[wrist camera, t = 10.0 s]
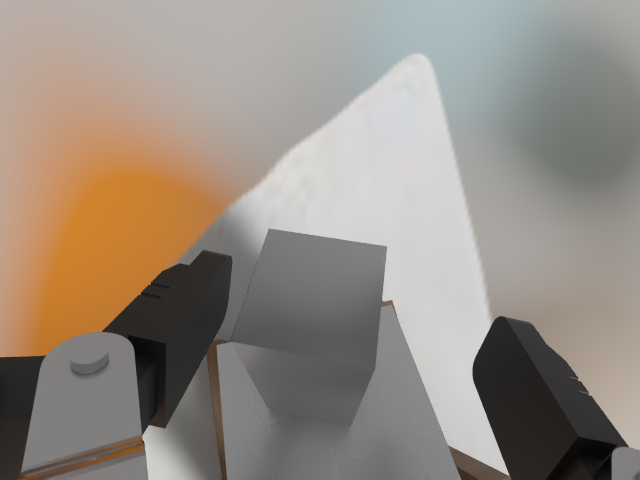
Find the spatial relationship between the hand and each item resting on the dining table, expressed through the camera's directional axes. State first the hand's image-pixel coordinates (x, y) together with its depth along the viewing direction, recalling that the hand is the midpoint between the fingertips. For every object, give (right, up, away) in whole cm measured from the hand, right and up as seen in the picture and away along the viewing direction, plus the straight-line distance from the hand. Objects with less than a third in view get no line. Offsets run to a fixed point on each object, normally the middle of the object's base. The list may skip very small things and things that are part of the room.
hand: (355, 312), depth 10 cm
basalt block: (-1, -6, +10) cm, 12 cm away
